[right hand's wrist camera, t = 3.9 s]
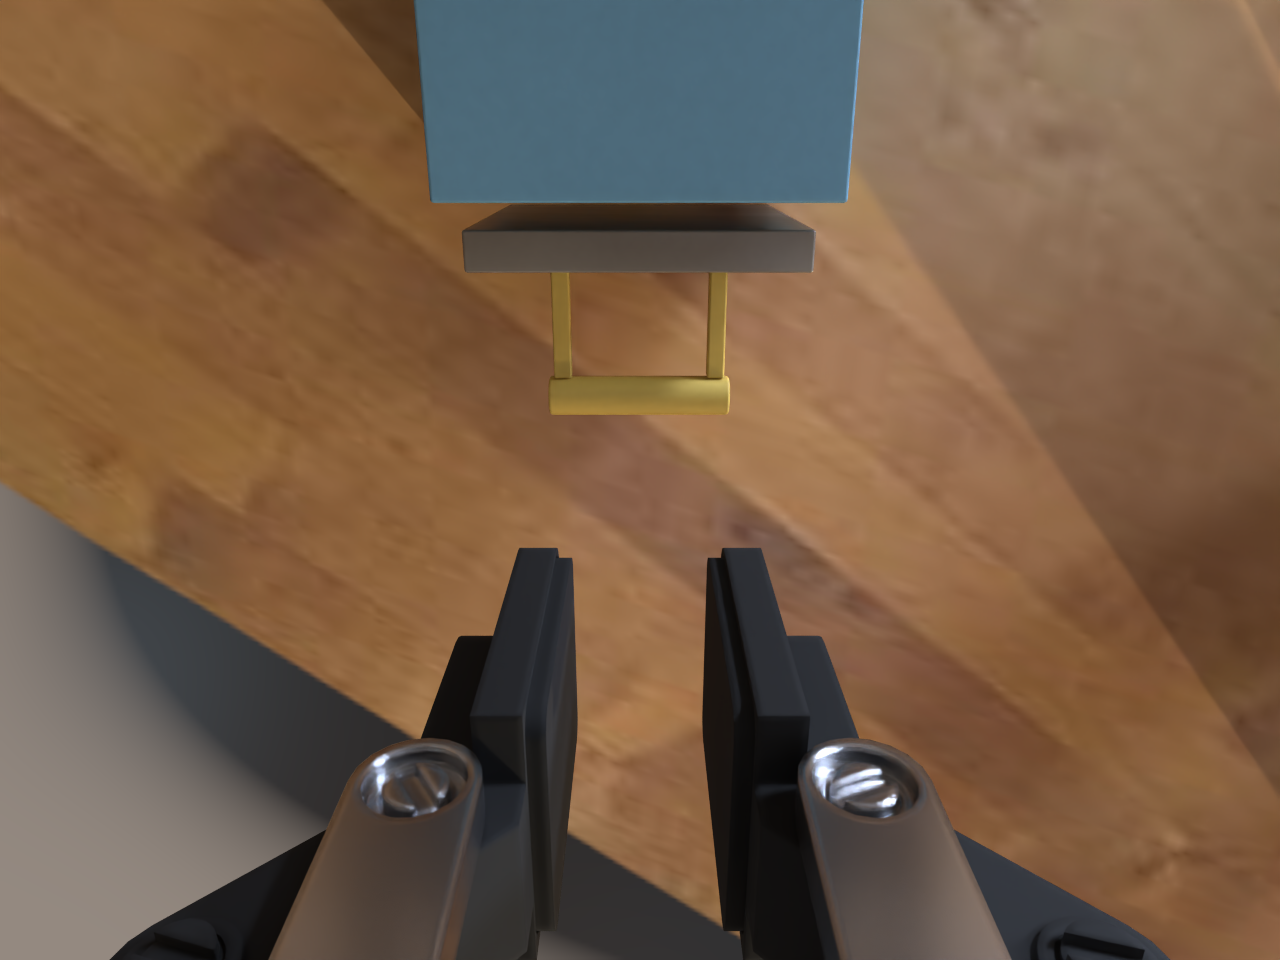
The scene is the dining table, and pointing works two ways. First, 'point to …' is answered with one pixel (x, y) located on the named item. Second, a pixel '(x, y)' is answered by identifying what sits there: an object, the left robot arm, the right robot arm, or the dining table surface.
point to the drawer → (639, 246)
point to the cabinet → (638, 100)
